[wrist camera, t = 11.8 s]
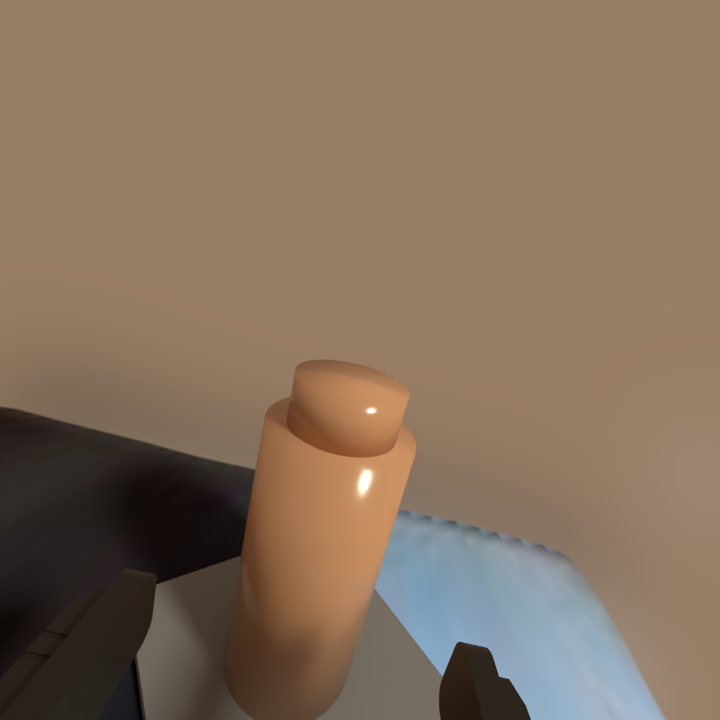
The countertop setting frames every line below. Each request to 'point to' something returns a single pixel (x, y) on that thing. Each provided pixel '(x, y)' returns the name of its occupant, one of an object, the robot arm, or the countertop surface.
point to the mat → (207, 645)
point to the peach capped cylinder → (315, 537)
